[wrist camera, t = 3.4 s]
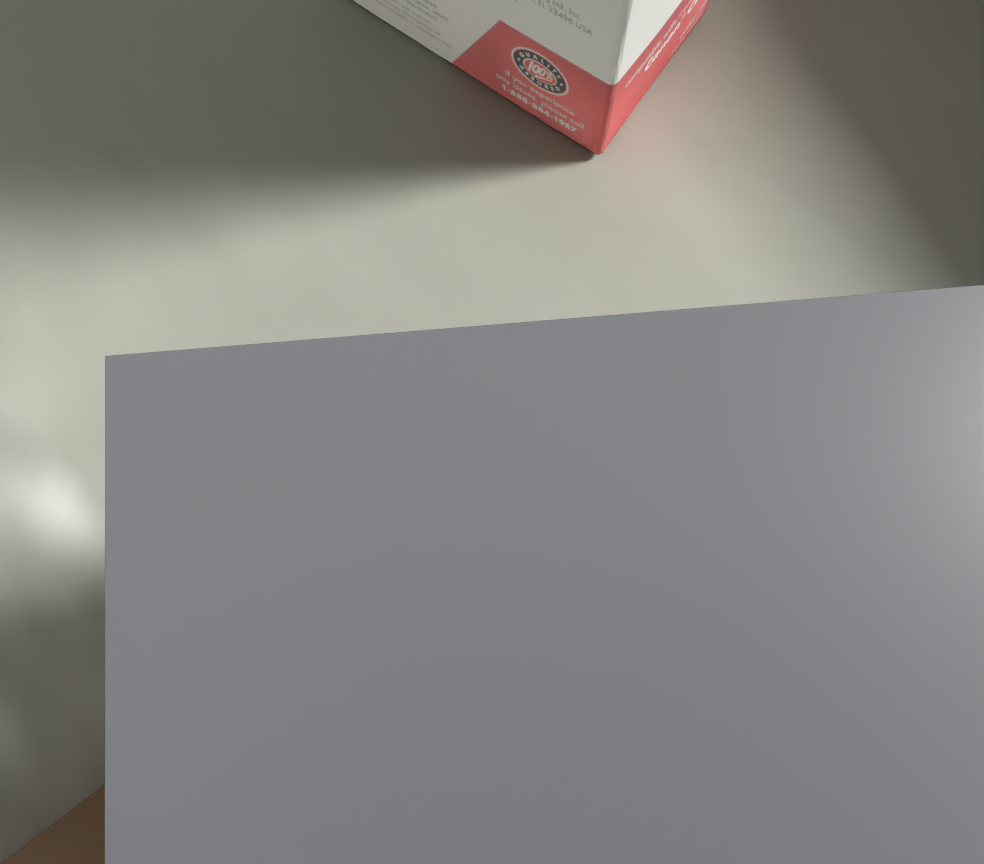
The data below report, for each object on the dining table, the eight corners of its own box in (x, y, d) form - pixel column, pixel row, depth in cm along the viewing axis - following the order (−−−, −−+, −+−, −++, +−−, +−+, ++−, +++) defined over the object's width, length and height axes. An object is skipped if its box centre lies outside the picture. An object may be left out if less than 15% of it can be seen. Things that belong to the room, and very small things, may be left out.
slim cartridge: (656, 678, 16) (1754, 1856, 2) (467, 692, 16) (84, 1904, 2) (637, 488, 16) (1358, 239, 2) (454, 502, 16) (92, 341, 2)
